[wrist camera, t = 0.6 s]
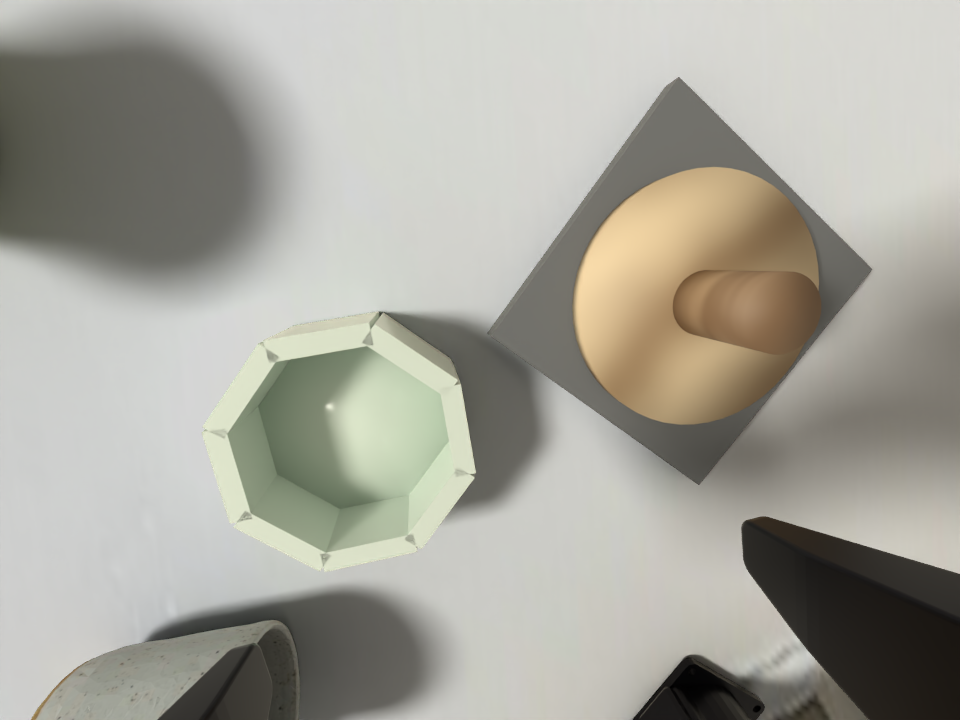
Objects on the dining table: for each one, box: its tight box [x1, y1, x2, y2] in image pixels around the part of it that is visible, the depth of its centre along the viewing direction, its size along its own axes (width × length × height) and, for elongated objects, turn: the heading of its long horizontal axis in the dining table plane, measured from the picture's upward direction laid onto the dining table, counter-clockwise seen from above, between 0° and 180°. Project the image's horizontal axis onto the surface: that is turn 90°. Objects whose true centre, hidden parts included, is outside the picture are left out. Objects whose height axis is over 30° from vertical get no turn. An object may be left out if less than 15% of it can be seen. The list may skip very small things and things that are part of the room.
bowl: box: [202, 311, 476, 572], centre depth 19 cm, size 9×9×4 cm
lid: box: [572, 167, 821, 425], centre depth 18 cm, size 11×11×5 cm
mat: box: [488, 77, 872, 485], centre depth 21 cm, size 13×13×1 cm
